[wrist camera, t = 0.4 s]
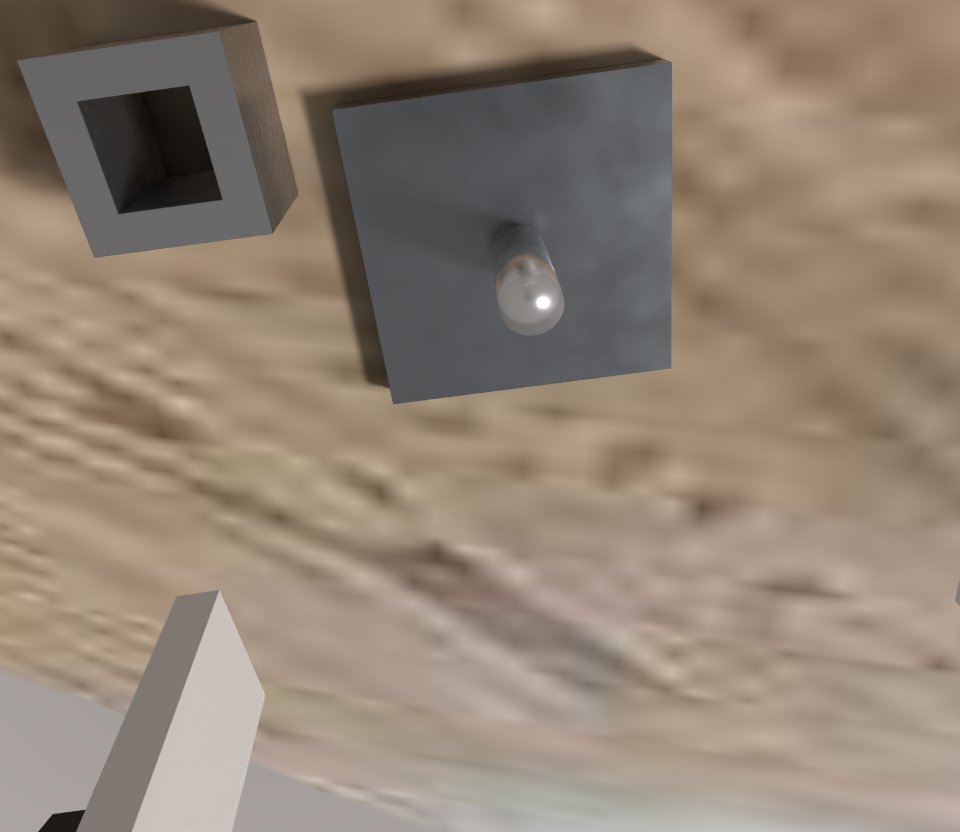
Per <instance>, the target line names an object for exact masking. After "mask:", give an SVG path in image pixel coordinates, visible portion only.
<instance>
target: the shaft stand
mask: <svg viewBox="0 0 960 832" xmlns="http://www.w3.org/2000/svg"><path fill="white" fill-rule="evenodd" d="M332 114H333V119H334V124H335V129H336V133H337V138H338V143H339V148H340V153H341V157H342V162H343V167H344V172H345V176H346V181H347V186H348V191H349V196H350V200H351V205H352V210H353V215H354V219H355V224H356V229H357V234H358V239H359V243H360V248H361V253H362V258H363V262H364V267H365V272H366V277H367V281H368V286H369V291H370V296H371V301H372V305H373V310H374V315H375V320H376V324H377V329H378V334H379V339H380V344H381V348H382V353H383V358H384V363H385V367H386V372H387V377H388V382H389V387H390V391H391V396H392V401H393V404H398V403H406V402H414V401H422V400H429V399H437V398H445V397H453V396H460V395H468V394H476V393H484V392H492V391H499V390H507V389H515V388H523V387H530V386H538V385H546V384H554V383H561V382H569V381H577V380H585V379H592V378H600V377H608V376H616V375H623V374H631V373H639V372H647V371H654V370H662V369H670V368H671V221H672V62H670V61H667V60H665V59H657V60H650V61H643V62H636V63H629V64H622V65H614V66H607V67H600V68H593V69H586V70H579V71H572V72H564V73H557V74H550V75H543V76H536V77H529V78H522V79H514V80H507V81H500V82H493V83H486V84H479V85H472V86H465V87H457V88H450V89H443V90H436V91H429V92H422V93H415V94H407V95H400V96H393V97H386V98H379V99H372V100H365V101H358V102H350V103H343V104H336V105H335V106H334V108H333V109H332Z"/></svg>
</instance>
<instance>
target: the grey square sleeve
mask: <svg viewBox="0 0 960 832" xmlns="http://www.w3.org/2000/svg"><path fill="white" fill-rule="evenodd" d="M17 62H18V65H19V67H20V70H21V72H22V75H23V77H24V80H25V83H26V85H27V88H28V90H29V93H30V95H31V98H32V100H33V103H34V105H35V108H36V110H37V113H38V116H39V118H40V121H41V123H42V126H43V128H44V131H45V133H46V136H47V138H48V141H49V144H50V146H51V149H52V151H53V154H54V156H55V159H56V161H57V164H58V166H59V169H60V172H61V174H62V177H63V179H64V182H65V184H66V187H67V189H68V192H69V194H70V197H71V200H72V202H73V205H74V207H75V210H76V212H77V215H78V217H79V220H80V222H81V225H82V227H83V230H84V233H85V235H86V238H87V240H88V243H89V245H90V248H91V250H92V253H93V255H94V258H97V257H104V256H111V255H119V254H126V253H134V252H141V251H148V250H156V249H163V248H170V247H178V246H185V245H192V244H200V243H207V242H215V241H222V240H229V239H237V238H244V237H251V236H259V235H266V234H273V232H274V231H275V229H276V228H277V226H278V225H279V223H280V222H281V220H282V219H283V217H284V216H285V214H286V212H287V211H288V209H289V208H290V206H291V205H292V203H293V202H294V200H295V199H296V197H297V196H298V191H297V186H296V182H295V178H294V174H293V170H292V166H291V162H290V158H289V153H288V149H287V145H286V141H285V137H284V133H283V129H282V125H281V120H280V116H279V112H278V108H277V104H276V100H275V96H274V92H273V88H272V83H271V79H270V75H269V71H268V67H267V63H266V59H265V55H264V50H263V46H262V42H261V38H260V34H259V30H258V26H257V22H250V23H243V24H236V25H229V26H222V27H215V28H208V29H201V30H194V31H187V32H180V33H173V34H166V35H159V36H152V37H145V38H138V39H131V40H124V41H117V42H110V43H103V44H96V45H90V46H84V47H79V48H75V49H70V50H65V51H60V52H55V53H51V54H46V55H41V56H36V57H31V58H27V59H22V60H17ZM188 85H189V86H190V90H191V93H192V97H193V100H194V103H195V107H196V110H197V114H198V117H199V120H200V124H201V127H202V131H203V134H204V137H205V141H206V144H207V148H208V151H209V154H210V158H211V161H212V165H213V168H214V171H209V172H202V173H195V174H187V175H180V176H173V177H168V175H167V172H166V169H165V166H164V163H163V160H162V157H161V154H160V151H159V147H158V144H157V141H156V138H155V135H154V132H153V129H152V126H151V123H150V120H149V117H148V114H147V110H146V107H145V104H144V101H143V98H142V95H141V92H146V91H153V90H160V89H167V88H174V87H181V86H188Z"/></svg>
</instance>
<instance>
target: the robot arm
mask: <svg viewBox="0 0 960 832" xmlns="http://www.w3.org/2000/svg"><path fill="white" fill-rule="evenodd" d="M955 601H956V602H957V603H958V604H959V606H960V581H959V586H958V590H957V595H956V599H955ZM264 699H265V694H264V691H263V689H262V687H261V684H260V682H259V680H258V678H257V675H256V673H255V671H254V668H253V666H252V664H251V662H250V659H249V657H248V655H247V652H246V650H245V648H244V646H243V643H242V641H241V639H240V636H239V634H238V632H237V630H236V627H235V625H234V623H233V620H232V618H231V616H230V614H229V611H228V609H227V607H226V604H225V602H224V600H223V598H222V595H221V593H220V591H219V590H218V591H211V592H204V593H197V594H190V595H183V596H177V597H176V599H175V602H174V604H173V606H172V609H171V611H170V613H169V616H168V618H167V620H166V623H165V625H164V627H163V630H162V632H161V634H160V637H159V639H158V641H157V644H156V646H155V648H154V651H153V653H152V655H151V658H150V660H149V662H148V665H147V667H146V670H145V672H144V674H143V677H142V679H141V681H140V684H139V686H138V688H137V691H136V693H135V695H134V698H133V700H132V702H131V705H130V707H129V709H128V712H127V714H126V716H125V719H124V721H123V723H122V726H121V728H120V731H119V733H118V736H117V738H116V740H115V742H114V745H113V747H112V749H111V752H110V754H109V757H108V759H107V761H106V763H105V766H104V768H103V771H102V773H101V775H100V777H99V780H98V782H97V785H96V787H95V789H94V791H93V794H92V796H91V798H90V801H89V803H88V806H87V808H86V810H81V811H73V812H65V813H59V814H53V815H52V816H51V817H50V818H49V820H48V821H47V822H46V823H45V824H44V826H43V827H42V828H41V829H40V830H39V832H232V829H233V824H234V820H235V816H236V812H237V808H238V804H239V800H240V796H241V792H242V788H243V784H244V780H245V776H246V772H247V768H248V764H249V760H250V756H251V752H252V748H253V743H254V739H255V735H256V731H257V727H258V723H259V719H260V715H261V711H262V707H263V703H264Z"/></svg>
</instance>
